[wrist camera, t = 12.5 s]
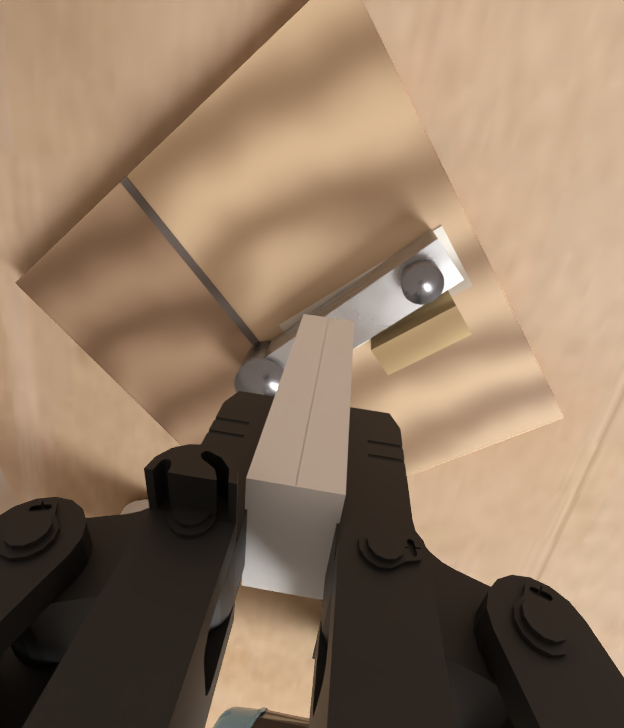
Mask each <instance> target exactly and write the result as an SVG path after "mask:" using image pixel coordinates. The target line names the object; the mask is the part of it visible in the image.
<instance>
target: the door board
mask: <svg viewBox="0 0 624 728" xmlns="http://www.w3.org/2000/svg"><path fill="white" fill-rule="evenodd" d="M429 229H432V231H433V232H434V234H435V235H436V237H437V238H438V240H439V241H440V243H441V244H442V246H443V247H444V249H445V251H446V252H447V254H448V255H449V257H450V259H451V260H452V262H453V263H454V265H455V266H456V268H457V270H458V271H459V273H460V274H461V276H462V277H463V279H464V280H463V281H461V282H460V283H458V284H457V285H455V286H453V287H452V288H450V289H449V290H447V291H445V292H444V293H442V294H441V295H440V296H439V297H438V298H437V299H436V300H434V301H433V302H431V303H428V304H425V305H423V306H421V307H420V308H418V309H417V310H415V311H413V312H412V313H410V314H409V315H407V316H405V317H404V318H402V319H401V320H399V321H397V322H396V323H394V324H393V325H391V326H389V327H388V328H386V329H385V330H383V331H381V332H380V333H378V334H377V335H375V336H373V337H372V338H370V339H369V340H367V341H365V342H364V343H362V344H361V345H359V346H357V347H356V348H354V349H353V358H352V378H351V398H350V407H353V408H359V409H366V410H372V411H378V412H385V413H390V415H391V416H392V418H393V419H394V420H395V422H396V423H397V425H398V426H399V428H400V429H401V437H402V445H403V446H402V449H403V452H404V463H405V468H406V475H407V477H408V476H411V475H413V474H416V473H419V472H421V471H424V470H427V469H429V468H432V467H435V466H437V465H440V464H443V463H445V462H448V461H451V460H453V459H456V458H459V457H461V456H464V455H467V454H469V453H472V452H475V451H477V450H480V449H483V448H485V447H488V446H491V445H493V444H496V443H499V442H501V441H504V440H507V439H509V438H512V437H515V436H517V435H520V434H523V433H525V432H528V431H531V430H533V429H536V428H539V427H541V426H544V425H547V424H549V423H552V422H555V421H557V420H560V419H563V418H564V416H563V414H562V412H561V409H560V407H559V405H558V403H557V401H556V399H555V397H554V395H553V393H552V391H551V389H550V387H549V385H548V383H547V381H546V379H545V376H544V374H543V372H542V370H541V368H540V366H539V364H538V362H537V360H536V358H535V356H534V354H533V352H532V350H531V348H530V346H529V343H528V341H527V339H526V337H525V335H524V333H523V331H522V329H521V327H520V325H519V323H518V321H517V319H516V317H515V315H514V313H513V310H512V308H511V306H510V304H509V302H508V300H507V298H506V296H505V294H504V292H503V290H502V288H501V286H500V284H499V282H498V280H497V277H496V275H495V273H494V271H493V269H492V267H491V265H490V263H489V261H488V259H487V257H486V255H485V253H484V251H483V249H482V246H481V244H480V242H479V240H478V238H477V236H476V234H475V232H474V230H473V228H472V226H471V224H470V222H469V220H468V218H467V216H466V213H465V211H464V209H463V207H462V205H461V203H460V201H459V199H458V197H457V195H456V193H455V191H454V189H453V187H452V185H451V183H450V180H449V178H448V176H447V174H446V172H445V170H444V168H443V166H442V164H441V162H440V160H439V158H438V156H437V154H436V152H435V150H434V147H433V145H432V143H431V141H430V139H429V137H428V135H427V133H426V131H425V129H424V127H423V125H422V123H421V121H420V119H419V117H418V114H417V112H416V110H415V108H414V106H413V104H412V102H411V100H410V98H409V96H408V94H407V92H406V90H405V88H404V86H403V83H402V81H401V79H400V77H399V75H398V73H397V71H396V69H395V67H394V65H393V63H392V61H391V59H390V57H389V55H388V53H387V50H386V48H385V46H384V44H383V42H382V40H381V38H380V36H379V34H378V32H377V30H376V28H375V26H374V24H373V22H372V20H371V17H370V15H369V13H368V11H367V9H366V7H365V5H364V3H363V1H362V0H309V1H308V2H307V3H306V4H305V5H304V6H303V7H302V8H301V9H300V10H299V11H298V12H297V13H296V14H295V15H294V16H293V17H292V18H291V19H290V20H289V21H287V22H286V23H285V24H284V25H283V26H282V27H281V28H280V29H279V30H278V31H277V32H276V33H275V34H274V35H273V36H272V37H271V38H270V39H269V40H268V41H267V42H266V43H265V44H264V45H263V46H261V47H260V48H259V49H258V50H257V51H256V52H255V53H254V54H253V55H252V56H251V57H250V58H249V59H248V60H247V61H246V62H245V63H244V64H243V65H242V66H241V67H240V68H239V69H238V70H236V71H235V72H234V73H233V74H232V75H231V76H230V77H229V78H228V79H227V80H226V81H225V82H224V83H223V84H222V85H221V86H220V87H219V88H218V89H217V90H216V91H215V92H214V93H213V94H211V95H210V96H209V97H208V98H207V99H206V100H205V101H204V102H203V103H202V104H201V105H200V106H199V107H198V108H197V109H196V110H195V111H194V112H193V113H192V114H191V115H190V116H189V117H188V118H186V119H185V120H184V121H183V122H182V123H181V124H180V125H179V126H178V127H177V128H176V129H175V130H174V131H173V132H172V133H171V134H170V135H169V136H168V137H167V138H166V139H165V140H164V141H163V142H161V143H160V144H159V145H158V146H157V147H156V148H155V149H154V150H153V151H152V152H151V153H150V154H149V155H148V156H147V157H146V158H145V159H144V160H143V161H142V162H141V163H140V164H139V165H138V166H136V167H135V168H134V169H133V170H132V171H131V172H130V173H129V174H128V175H127V176H125V177H124V178H123V179H122V180H121V181H120V183H119V184H118V185H117V186H116V187H115V188H114V189H113V190H111V191H110V192H109V193H108V194H107V195H106V196H105V197H104V198H103V199H102V200H101V201H100V202H99V203H98V204H97V205H96V206H95V207H94V208H93V209H92V210H91V211H90V212H89V213H88V214H86V215H85V216H84V217H83V218H82V219H81V220H80V221H79V222H78V223H77V224H76V225H75V226H74V227H73V228H72V229H71V230H70V231H69V232H68V233H67V234H66V235H65V236H64V237H63V238H61V239H60V240H59V241H58V242H57V243H56V244H55V245H54V246H53V247H52V248H51V249H50V250H49V251H48V252H47V253H46V254H45V255H44V256H43V257H42V258H41V259H40V260H39V261H38V262H36V263H35V264H34V265H33V266H32V267H31V268H30V269H29V270H28V271H27V272H26V273H25V274H24V275H23V276H22V277H21V278H20V279H19V280H18V281H17V282H16V284H17V285H18V286H19V287H20V288H21V289H22V290H23V291H24V292H25V293H26V294H27V295H28V296H29V297H30V298H31V299H32V300H33V301H34V302H35V303H36V304H37V305H38V306H39V307H40V308H41V309H42V310H43V311H44V312H45V313H46V314H48V315H49V316H50V317H51V318H52V319H53V320H54V321H55V322H56V323H57V324H58V325H59V326H60V327H61V328H62V329H63V330H64V331H65V332H66V333H67V334H68V335H69V336H70V337H71V338H72V339H73V340H74V341H75V342H76V343H77V344H78V345H79V346H80V347H81V348H82V349H83V350H84V351H85V352H86V353H87V354H88V355H89V356H90V357H91V358H92V359H93V360H94V361H96V362H97V363H98V364H99V365H100V366H101V367H102V368H103V369H104V370H105V371H106V372H107V373H108V374H109V375H110V376H111V377H112V378H113V379H114V380H115V381H116V382H117V383H118V384H119V385H120V386H121V387H122V388H123V389H124V390H125V391H126V392H127V393H128V394H129V395H130V396H131V397H132V398H133V399H134V400H135V401H136V402H137V403H138V404H139V405H140V406H141V407H142V408H144V409H145V410H146V411H147V412H148V413H149V414H150V415H151V416H152V417H153V418H154V419H155V420H156V421H157V422H158V423H159V424H160V425H161V426H162V427H163V428H164V429H165V430H166V431H167V432H168V433H169V434H170V435H171V436H172V437H173V438H174V439H175V440H176V441H177V442H178V443H179V444H180V445H181V446H183V445H188V444H201V443H202V441H203V440H204V438H205V436H206V434H207V433H208V432H209V428H210V427H211V425H212V423H213V421H214V420H215V419H216V415H217V414H218V412H219V410H220V408H221V406H222V404H223V403H224V402H225V401H226V400H227V399H229V398H230V397H231V396H233V395H234V394H236V390H235V386H234V380H235V377H236V374H237V372H238V371H239V369H240V367H241V365H242V363H243V361H244V359H245V357H246V355H247V354H248V352H249V350H250V349H251V347H252V346H254V345H255V344H256V343H258V342H261V341H266V340H271V341H272V340H273V339H275V338H276V337H278V336H279V335H280V334H282V333H283V332H285V331H286V330H287V329H289V328H290V327H292V326H293V325H295V324H296V323H297V322H299V321H300V320H302V317H303V314H308V315H309V314H310V313H312V312H313V311H314V310H316V309H317V308H319V307H320V306H322V305H323V304H324V303H326V302H327V301H329V300H330V299H331V298H333V297H334V296H336V295H337V294H339V293H340V292H341V291H343V290H344V289H346V288H347V287H349V286H350V285H351V284H353V283H354V282H356V281H357V280H358V279H360V278H361V277H363V276H364V275H366V274H367V273H368V272H370V271H371V270H373V269H374V268H375V267H377V266H378V265H380V264H381V263H383V262H384V261H385V260H387V259H388V258H390V257H391V256H393V255H394V254H395V253H397V252H398V251H400V250H401V249H402V248H404V247H405V246H407V245H408V244H410V243H411V242H412V241H414V240H415V239H417V238H418V237H419V236H421V235H422V234H424V233H425V232H427V231H428V230H429Z"/></svg>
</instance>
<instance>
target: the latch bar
mask: <svg viewBox="0 0 624 728" xmlns="http://www.w3.org/2000/svg"><path fill="white" fill-rule="evenodd" d="M463 280H464V279H463V277H462V276H461V274H460V273H459V271H458V270H457V268H456V266H455V265H454V263H453V262H452V260H451V259H450V257H449V255H448V254H447V252H446V251H445V249H444V247H443V246H442V244H441V243H440V241H439V240H438V238H437V237H436V235H435V234H434V232H433V231H432V229H429V230H428V231H427V232H425V233H424V234H422V235H421V236H419V237H418V238H417V239H415V240H414V241H412V242H411V243H410V244H408V245H407V246H405V247H404V248H402V249H401V250H400V251H398V252H397V253H395V254H394V255H393V256H391V257H390V258H388V259H387V260H385V261H384V262H383V263H381V264H380V265H378V266H377V267H375V268H374V269H373V270H371V271H370V272H368V273H367V274H366V275H364V276H363V277H361V278H360V279H358V280H357V281H356V282H354V283H353V284H351V285H350V286H349V287H347V288H346V289H344V290H343V291H341V292H340V293H339V294H337V295H336V296H334V297H333V298H331V299H330V300H329V301H327V302H326V303H324V304H323V305H322V306H320V307H319V308H317V309H316V310H314V311H313V312H312V313H310V314H309V315H314V316H321V317H328V318H334V319H341V320H348V321H354V338H353V349H354V348H356V347H357V346H359V345H361V344H362V343H364V342H365V341H367V340H369V339H370V338H372V337H373V336H375V335H377V334H378V333H380V332H381V331H383V330H385V329H386V328H388V327H389V326H391V325H393V324H394V323H396V322H397V321H399V320H401V319H402V318H404V317H405V316H407V315H409V314H410V313H412V312H413V311H415V310H417V309H418V308H420V307H421V306H423V305H425V304H428V303H431V302H433V301H434V300H436V299H437V298H438V297H439V296H440V295H441V294H442V293H444V292H445V291H447V290H449V289H450V288H452V287H453V286H455V285H457V284H458V283H460V282H461V281H463ZM300 323H301V320H300V321H299V322H297V323H296V324H295V325H293V326H292V327H290V328H289V329H287V330H286V331H285V332H283V333H282V334H280V335H279V336H278V337H276V338H275V339H273V340H272V341H271V340H266V341H261V342H258V343H256V344H255V345H254V346H252V347H251V349H250V350H249V352H248V354H247V355H246V357H245V359H244V361H243V363H242V365H241V367H240V369H239V371H238V372H237V374H236V377H235V380H234V386H235V390H236V393H237V392H238V391H243V392H249V393H256V394H262V395H268V396H274V397H275V394H276V391H277V388H278V386H279V383H280V380H281V377H282V374H283V371H284V368H285V366H286V363H287V360H288V357H289V354H290V351H291V349H292V346H293V343H294V340H295V337H296V334H297V331H298V329H299V326H300Z"/></svg>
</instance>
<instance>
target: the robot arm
mask: <svg viewBox="0 0 624 728" xmlns="http://www.w3.org/2000/svg"><path fill="white" fill-rule="evenodd" d="M353 338H354V321H348V320H341V319H334V318H328V317H321V316H314V315H308V314H303V317H302V320H301V323H300V326H299V329H298V331H297V334H296V337H295V340H294V343H293V346H292V349H291V351H290V354H289V357H288V360H287V363H286V366H285V368H284V371H283V374H282V377H281V380H280V383H279V386H278V388H277V391H276V394H275V397H274V396H268V395H262V394H256V393H249V392H243V391H238V392H237V393H236V394H234V395H233V396H231V397H230V398H229V399H227V400H226V401H225V402H224V403H223V404H222V406H221V408H220V410H219V412H218V414H217V415H216V419H215V420H214V421H213V423H212V425H211V427H210V428H209V432H208V433H207V434H206V436H205V438H204V440H203V441H202V443H201V444H188V445H183V446H179V447H175V448H171V449H169V450H167V451H165V452H163V453H161V454H160V455H158V456H156V457H155V458H154V459H153V460H152V461H151V462H150V463H149V464H148V465H147V466H146V467H145V468H144V472H145V479H146V487H147V494H148V502H149V508H147V509H144V510H142V511H138V512H133V513H128V514H122V515H112V516H103V517H94V518H85V515H84V511H83V509H82V508H81V507H80V506H79V505H77V504H76V503H75V502H74V501H72V500H68V499H63V498H58V497H51V498H41V499H35V500H32V501H29V502H26V503H23V504H20V505H17V506H15V507H13V508H11V509H10V510H8V511H6V512H5V513H3V514H1V515H0V728H205V724H206V721H207V717H208V713H209V709H210V706H211V702H212V698H213V695H214V691H215V687H216V683H217V680H218V676H219V672H220V669H221V665H222V661H223V657H224V654H225V650H226V646H227V643H228V639H229V635H230V631H231V628H232V624H233V620H234V608H235V598H236V595H237V591H238V587H239V584H240V580H241V577H242V586H247V587H253V588H258V589H264V590H269V591H275V592H281V593H286V594H292V595H297V596H303V597H308V598H314V599H319V600H323V605H322V616H321V622H320V626H319V631H318V635H317V640H316V644H315V648H314V653H313V657H312V658H313V659H315V666H314V677H313V687H312V697H311V708H310V718H303V717H298V716H293V715H288V714H284V713H279V712H274V711H269V710H268V709H267V708H261V709H252V708H244V707H232V708H230V709H228V710H226V711H225V712H224V713H223V714H222V715H221V716H220V717H219V719H218V720H217V722H216V723H215V725H214V727H213V728H624V677H623V676H622V674H621V673H620V671H619V670H618V668H617V667H616V665H615V664H614V662H613V661H612V659H611V658H610V656H609V655H608V654H607V652H606V651H605V649H604V648H603V646H602V645H601V643H600V642H599V640H598V639H597V637H596V636H595V634H594V633H593V631H592V630H591V628H590V627H589V625H588V624H587V622H586V621H585V620H584V619H583V617H582V616H581V615H580V614H579V613H578V611H577V610H576V609H575V608H574V607H573V606H572V604H571V603H570V602H569V601H568V600H566V599H565V598H564V597H563V596H561V595H560V594H559V593H557V592H556V591H555V590H553V589H552V588H551V587H550V586H547V585H545V584H543V583H541V582H539V581H536V580H534V579H532V578H530V577H523V576H516V575H510V576H507V577H503V578H500V579H497V580H496V582H495V583H494V584H493V585H492V587H490V586H488V585H486V584H484V583H482V582H479V581H477V580H475V579H473V578H471V577H469V576H467V575H465V574H463V573H461V572H459V571H456V570H454V569H453V568H451V567H449V566H448V565H446V564H444V563H443V562H441V561H440V560H439V559H438V558H436V557H435V556H434V555H433V554H432V553H430V551H429V550H428V549H427V548H426V547H425V544H424V541H423V540H422V539H421V537H420V536H419V535H418V534H417V532H416V531H415V528H414V524H413V520H412V513H411V506H410V498H409V490H408V483H407V475H406V468H405V463H404V452H403V449H402V446H403V445H402V437H401V429H400V428H399V426H398V425H397V423H396V422H395V420H394V419H393V418H392V416H391V415H390V413H385V412H378V411H372V410H366V409H359V408H353V407H350V398H351V378H352V358H353Z"/></svg>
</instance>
